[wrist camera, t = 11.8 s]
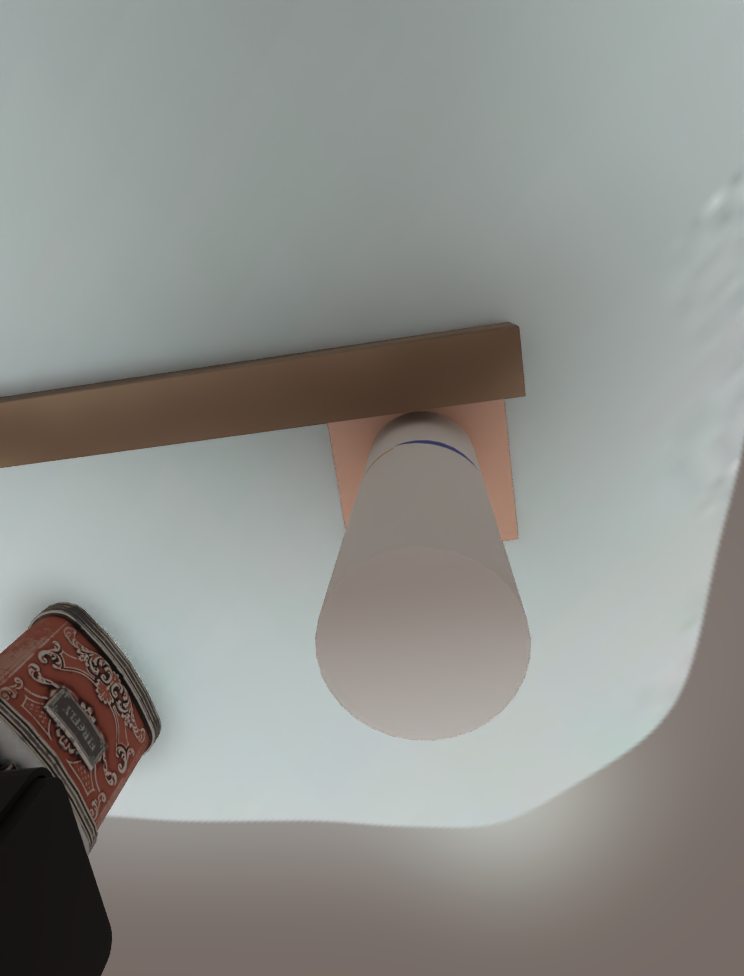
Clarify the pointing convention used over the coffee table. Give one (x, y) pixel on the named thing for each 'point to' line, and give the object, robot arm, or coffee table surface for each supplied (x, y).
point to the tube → (422, 591)
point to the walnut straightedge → (264, 395)
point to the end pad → (479, 424)
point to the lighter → (74, 711)
